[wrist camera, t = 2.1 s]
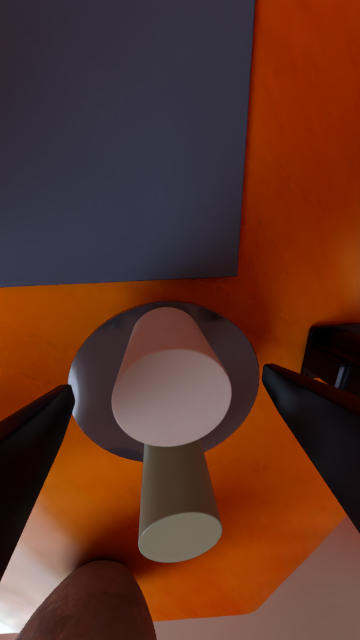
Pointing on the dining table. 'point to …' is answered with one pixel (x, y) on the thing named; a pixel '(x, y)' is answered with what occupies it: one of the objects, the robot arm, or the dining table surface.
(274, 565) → the dining table surface
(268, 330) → the dining table surface
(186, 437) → the ivory candle
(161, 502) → the sage candle
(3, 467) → the robot arm
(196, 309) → the cake stand
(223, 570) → the dining table surface
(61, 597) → the vase
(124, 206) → the placemat
